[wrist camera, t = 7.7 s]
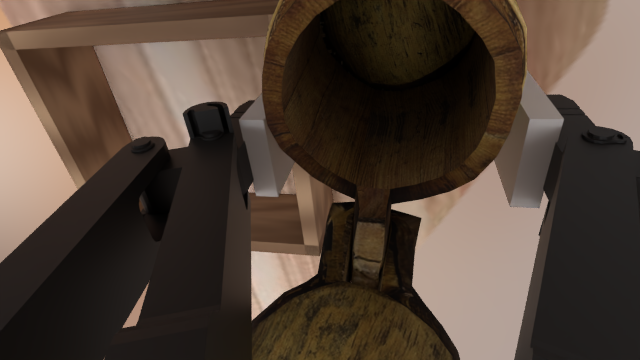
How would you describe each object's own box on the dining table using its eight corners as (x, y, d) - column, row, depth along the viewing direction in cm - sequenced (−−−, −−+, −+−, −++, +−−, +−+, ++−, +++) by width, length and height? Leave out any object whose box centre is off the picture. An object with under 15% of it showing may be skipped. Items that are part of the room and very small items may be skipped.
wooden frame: (65, 12, 32) (-8, 32, 26) (313, -7, 28) (287, 13, 22) (146, 197, 43) (105, 239, 37) (333, 205, 38) (319, 256, 33)
